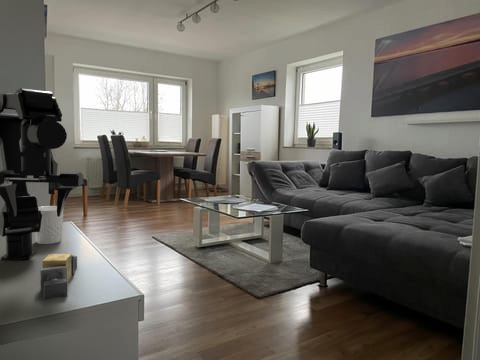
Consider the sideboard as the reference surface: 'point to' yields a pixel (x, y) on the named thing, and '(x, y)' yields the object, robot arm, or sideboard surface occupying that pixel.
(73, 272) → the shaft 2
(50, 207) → the white cup
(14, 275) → the sideboard surface
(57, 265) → the block
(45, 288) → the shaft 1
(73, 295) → the sideboard surface
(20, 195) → the robot arm
